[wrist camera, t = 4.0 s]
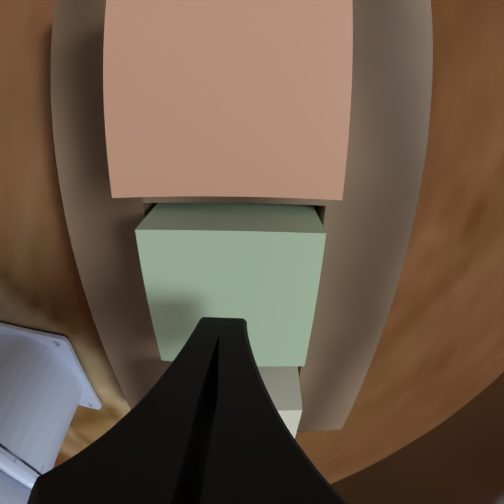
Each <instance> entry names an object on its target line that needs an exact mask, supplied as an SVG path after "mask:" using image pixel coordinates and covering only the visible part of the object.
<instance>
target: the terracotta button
mask: <svg viewBox="0 0 504 504" xmlns="http://www.w3.org/2000/svg"><path fill="white" fill-rule="evenodd" d="M352 63H353V3H352V0H106V10H105V24H104V46H103V96H104V120H105V135H106V148H107V159H108V169H109V178H110V186H111V194H112V198H128V197H174V196H228V197H275V198H302V199H324V200H342V198H343V189H344V180H345V171H346V161H347V150H348V138H349V125H350V109H351V91H352Z"/></svg>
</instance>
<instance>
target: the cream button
mask: <svg viewBox="0 0 504 504" xmlns="http://www.w3.org/2000/svg"><path fill="white" fill-rule="evenodd" d="M257 367H258V369H259V372H260V375H261V377H262V380H263V382H264V384H265V386H266V389H267V391H268V393H269V395H270V397H271V399H272V401H273V403H274V405H275V407H276V409H277V411H278V413H279V414H280V416H281V418H282V419H283V421H284V423H285V425H286V426H287V428H288V429H289V431H290V433H291V434H292V436H293V437H294V439H295V436H296V432H297V429H298V425H299V421H300V418H301V414H302V401H301V391H300V382H299V373H298V366H257Z"/></svg>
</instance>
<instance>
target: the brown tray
mask: <svg viewBox="0 0 504 504" xmlns="http://www.w3.org/2000/svg"><path fill="white" fill-rule="evenodd" d="M352 3H353V63H352V91H351V109H350V125H349V138H348V150H347V161H346V171H345V180H344V189H343V198H342V200H324V199H302V198H275V197H228V196H174V197H128V198H112V194H111V186H110V178H109V169H108V159H107V148H106V135H105V120H104V96H103V46H104V24H105V10H106V0H59V1H57V2H55V5H54V14H53V25H52V39H51V73H50V76H51V110H52V126H53V137H54V147H55V156H56V164H57V171H58V178H59V185H60V191H61V197H62V202H63V207H64V213H65V218H66V222H67V227H68V232H69V236H70V240H71V244H72V249H73V253H74V257H75V260H76V264H77V268H78V271H79V275H80V278H81V282H82V285H83V289H84V292H85V295H86V298H87V301H88V305H89V308H90V311H91V314H92V317H93V319H94V322H95V325H96V328H97V331H98V333H99V336H100V339H101V341H102V344H103V347H104V349H105V352H106V354H107V357H108V359H109V362H110V364H111V367H112V369H113V371H114V374H115V376H116V378H117V380H118V383H119V385H120V387H121V389H122V392H123V394H124V396H125V398H126V400H127V402H128V404H129V406H130V408H131V410H132V409H133V408H134V407H135V406H136V405H137V404H138V403H139V402H140V401H141V399H142V398H143V397H144V396H145V395H146V394H147V393H148V392H149V391H150V390H151V388H152V387H153V386H154V385H155V384H156V382H157V381H158V380H159V379H160V377H161V376H162V375H163V374H164V372H165V371H166V370H167V369H168V367H169V366H170V365H171V363H172V362H173V361H163V360H161V356H160V352H159V348H158V344H157V340H156V336H155V332H154V328H153V323H152V319H151V314H150V310H149V305H148V300H147V295H146V290H145V285H144V280H143V275H142V269H141V264H140V258H139V252H138V246H137V240H136V233H135V229H136V228H137V227H138V226H139V224H140V223H141V222H142V221H143V220H144V218H145V217H146V216H147V215H148V214H149V213H150V211H151V210H152V209H153V208H154V207H155V206H156V204H157V203H189V202H198V203H267V204H298V205H315V210H316V213H317V215H318V217H319V219H320V221H321V223H322V225H323V228H324V230H325V232H326V239H325V246H324V254H323V261H322V268H321V275H320V281H319V288H318V294H317V300H316V306H315V312H314V318H313V324H312V329H311V335H310V340H309V346H308V351H307V356H306V361H305V366H298V373H299V382H300V391H301V401H302V414H301V418H300V421H299V425H298V429H297V432H308V431H324V430H337V429H342V427H343V425H344V423H345V421H346V419H347V417H348V415H349V413H350V411H351V408H352V406H353V404H354V402H355V400H356V397H357V395H358V393H359V391H360V388H361V386H362V384H363V381H364V379H365V376H366V374H367V371H368V369H369V367H370V364H371V361H372V359H373V356H374V354H375V351H376V348H377V346H378V343H379V340H380V338H381V335H382V332H383V329H384V326H385V323H386V320H387V317H388V314H389V311H390V308H391V305H392V302H393V299H394V295H395V292H396V289H397V285H398V282H399V278H400V275H401V271H402V268H403V264H404V260H405V256H406V253H407V249H408V244H409V240H410V236H411V232H412V227H413V223H414V218H415V213H416V209H417V203H418V198H419V193H420V187H421V181H422V175H423V169H424V162H425V155H426V148H427V139H428V130H429V120H430V108H431V94H432V69H433V36H432V13H431V0H352Z"/></svg>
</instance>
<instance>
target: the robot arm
mask: <svg viewBox="0 0 504 504" xmlns="http://www.w3.org/2000/svg"><path fill="white" fill-rule="evenodd" d="M78 405H81V406H85V407H89V408H93V409H100V408H101V406H102V405H101V403H100V401H99V399H98V397H97V395H96V394H95V392H94V390H93V388H92V386H91V384H90V382H89V381H88V379H87V377H86V375H85V373H84V371H83V369H82V367H81V365H80V363H79V361H78V359H77V356H76V354H75V352H74V350H73V348H72V346H71V343H70V341H69V340H68V339H67V338H66V337H65V336H61V335H56V334H51V333H46V332H41V331H36V330H31V329H26V328H22V327H18V326H13V325H9V324H5V323H1V322H0V504H348V503H347V502H346V501H345V500H344V499H343V498H342V497H341V496H340V495H339V494H338V493H337V492H336V491H335V490H334V489H333V487H332V486H331V485H330V484H329V483H328V482H327V481H326V479H325V478H324V477H323V476H322V475H321V474H320V472H319V471H318V470H317V469H316V467H315V466H314V465H313V464H312V462H311V461H310V460H309V458H308V457H307V456H306V454H305V453H304V451H303V450H302V449H301V447H300V446H299V445H298V443H297V442H296V440H295V439H294V437H293V436H292V434H291V433H290V431H289V429H288V428H287V426H286V425H285V423H284V421H283V419H282V418H281V416H280V414H279V413H278V411H277V409H276V407H275V405H274V403H273V401H272V399H271V397H270V395H269V393H268V391H267V389H266V386H265V384H264V382H263V380H262V377H261V375H260V372H259V369H258V367H257V364H256V361H255V359H254V355H253V352H252V349H251V345H250V341H249V337H248V331H247V321H246V320H245V319H243V318H218V317H202V318H201V319H200V320H199V322H198V324H197V325H196V327H195V329H194V331H193V332H192V334H191V335H190V337H189V339H188V340H187V342H186V343H185V345H184V346H183V348H182V349H181V351H180V352H179V353H178V355H177V356H176V358H175V359H174V361H173V362H172V363H171V365H170V366H169V367H168V369H167V370H166V371H165V372H164V374H163V375H162V376H161V377H160V379H159V380H158V381H157V382H156V384H155V385H154V386H153V387H152V388H151V390H150V391H149V392H148V393H147V394H146V395H145V396H144V397H143V398H142V399H141V401H140V402H139V403H138V404H137V405H136V406H135V407H134V408H133V409H132V410H131V411H130V412H129V413H128V414H127V415H125V416H124V417H123V418H122V419H121V420H120V421H119V422H118V423H117V424H116V425H114V426H113V427H112V428H111V429H110V430H109V431H107V432H106V433H105V434H104V435H103V436H101V437H100V438H99V439H97V440H96V441H95V442H93V443H92V444H90V445H89V446H88V447H86V448H85V449H84V450H82V451H81V452H79V453H78V454H77V455H75V456H73V457H72V458H70V459H69V460H67V461H65V462H64V463H62V464H60V465H58V466H57V467H55V468H53V466H54V463H55V461H56V458H57V455H58V453H59V450H60V448H61V445H62V443H63V440H64V438H65V435H66V433H67V430H68V428H69V425H70V423H71V421H72V418H73V416H74V413H75V411H76V409H77V407H78Z"/></svg>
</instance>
